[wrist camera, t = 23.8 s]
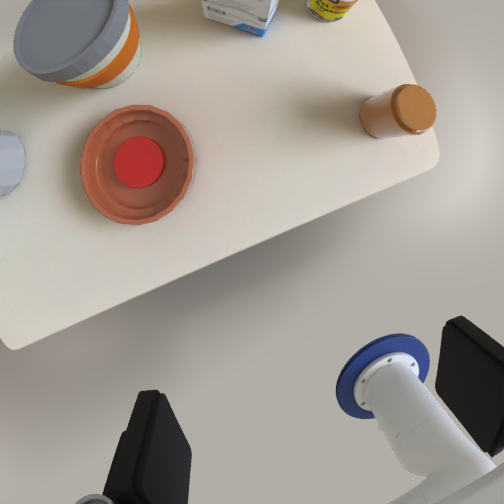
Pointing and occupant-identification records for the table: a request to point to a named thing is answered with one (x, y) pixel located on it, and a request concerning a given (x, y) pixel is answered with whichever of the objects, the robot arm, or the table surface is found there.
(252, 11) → the ink box
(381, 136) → the jam jar
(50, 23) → the reusable coffee cup
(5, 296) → the table surface
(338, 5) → the supplement bottle
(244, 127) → the table surface
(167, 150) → the dish
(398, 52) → the table surface
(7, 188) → the jar
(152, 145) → the lid
